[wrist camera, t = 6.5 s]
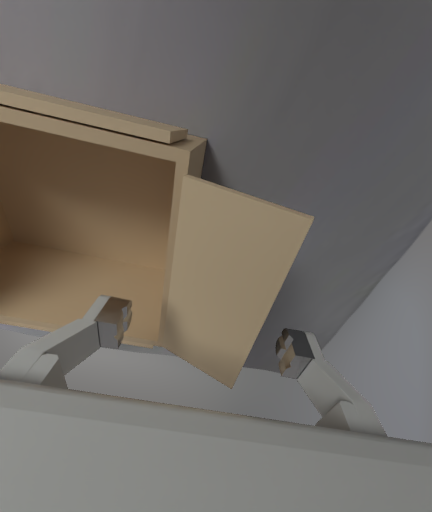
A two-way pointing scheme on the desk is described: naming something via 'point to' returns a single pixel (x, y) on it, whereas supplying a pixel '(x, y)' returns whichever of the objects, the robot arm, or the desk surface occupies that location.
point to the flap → (226, 274)
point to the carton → (88, 211)
